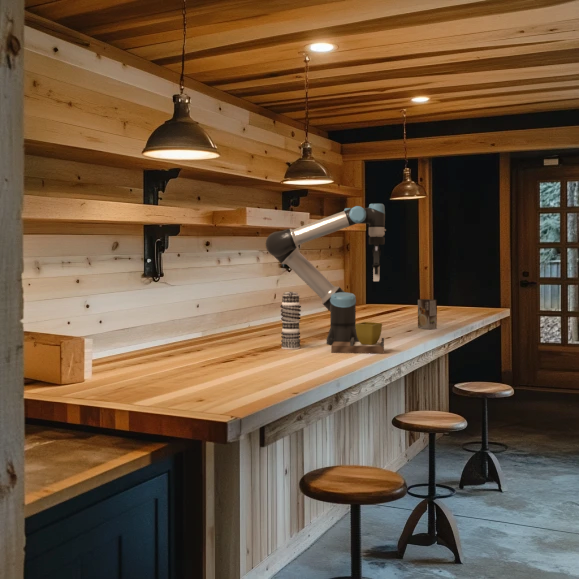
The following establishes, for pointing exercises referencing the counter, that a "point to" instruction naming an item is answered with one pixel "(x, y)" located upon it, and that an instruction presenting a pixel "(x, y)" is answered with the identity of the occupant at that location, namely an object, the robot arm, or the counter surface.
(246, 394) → the counter surface
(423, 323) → the coffee box
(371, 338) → the flower pot
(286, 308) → the decorative candle
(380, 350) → the dock
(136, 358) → the counter surface
